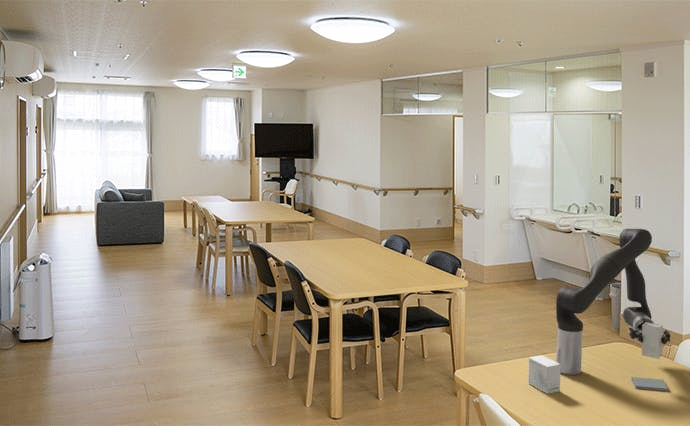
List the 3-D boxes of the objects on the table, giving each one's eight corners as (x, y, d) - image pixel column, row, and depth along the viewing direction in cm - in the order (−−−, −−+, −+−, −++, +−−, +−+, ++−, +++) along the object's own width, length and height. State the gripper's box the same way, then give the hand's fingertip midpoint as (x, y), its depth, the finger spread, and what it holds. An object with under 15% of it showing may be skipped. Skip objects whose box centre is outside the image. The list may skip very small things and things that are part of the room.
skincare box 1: (527, 384, 241) (528, 357, 239) (541, 381, 243) (542, 354, 242) (546, 394, 231) (547, 366, 230) (560, 391, 233) (561, 363, 232)
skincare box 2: (661, 356, 238) (663, 324, 236) (658, 359, 234) (659, 327, 233) (644, 352, 242) (646, 321, 240) (640, 355, 238) (642, 324, 237)
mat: (635, 388, 236) (635, 385, 236) (631, 379, 245) (631, 376, 245) (668, 391, 233) (668, 388, 233) (663, 382, 242) (663, 379, 242)
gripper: (625, 316, 252) (632, 329, 236) (665, 319, 248) (675, 332, 233) (624, 335, 253) (631, 349, 237) (664, 338, 249) (674, 352, 234)
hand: (653, 340), depth 235 cm, fingers closed on skincare box 2, 7 cm apart
